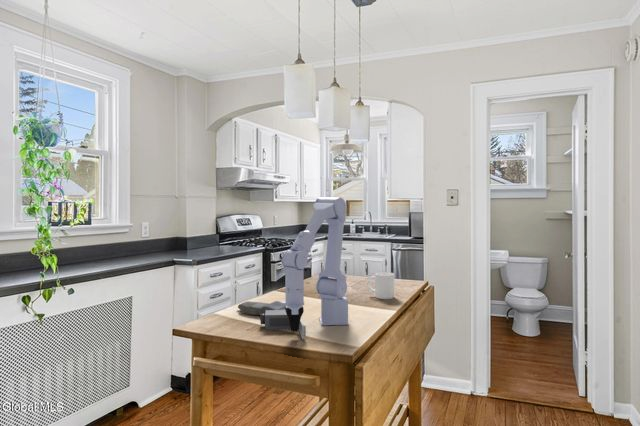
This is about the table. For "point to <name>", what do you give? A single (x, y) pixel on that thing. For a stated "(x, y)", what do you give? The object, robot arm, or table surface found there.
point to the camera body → (275, 320)
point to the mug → (382, 285)
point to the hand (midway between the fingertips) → (294, 330)
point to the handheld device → (260, 307)
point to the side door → (302, 329)
